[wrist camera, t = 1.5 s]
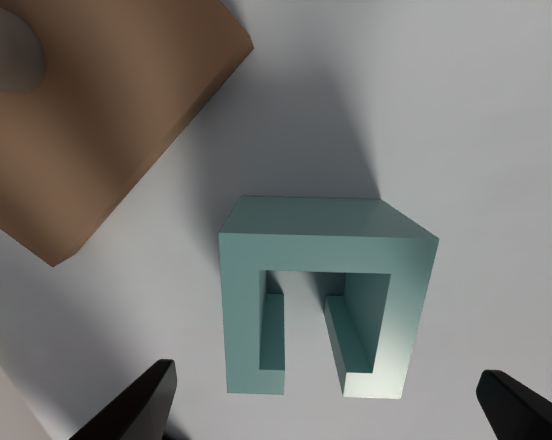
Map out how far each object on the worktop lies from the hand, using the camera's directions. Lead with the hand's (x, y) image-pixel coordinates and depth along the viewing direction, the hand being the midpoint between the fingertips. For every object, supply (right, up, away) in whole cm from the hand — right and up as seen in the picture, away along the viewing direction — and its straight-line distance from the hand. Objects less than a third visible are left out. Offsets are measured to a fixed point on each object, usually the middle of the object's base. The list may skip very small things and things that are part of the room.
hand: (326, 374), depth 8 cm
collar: (0, +2, +7) cm, 7 cm away
